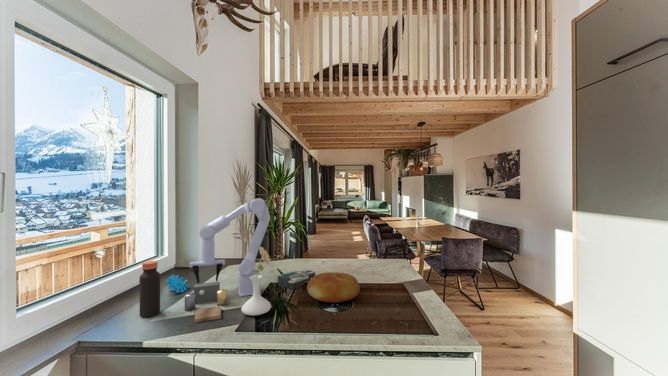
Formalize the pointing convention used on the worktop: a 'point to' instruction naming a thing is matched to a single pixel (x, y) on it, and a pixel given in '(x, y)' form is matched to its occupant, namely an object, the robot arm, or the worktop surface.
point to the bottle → (149, 290)
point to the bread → (333, 287)
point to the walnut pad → (207, 314)
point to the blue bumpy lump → (177, 284)
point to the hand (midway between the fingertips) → (207, 281)
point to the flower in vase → (257, 291)
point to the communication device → (294, 278)
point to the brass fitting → (221, 297)
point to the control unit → (206, 292)
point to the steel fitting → (190, 301)
